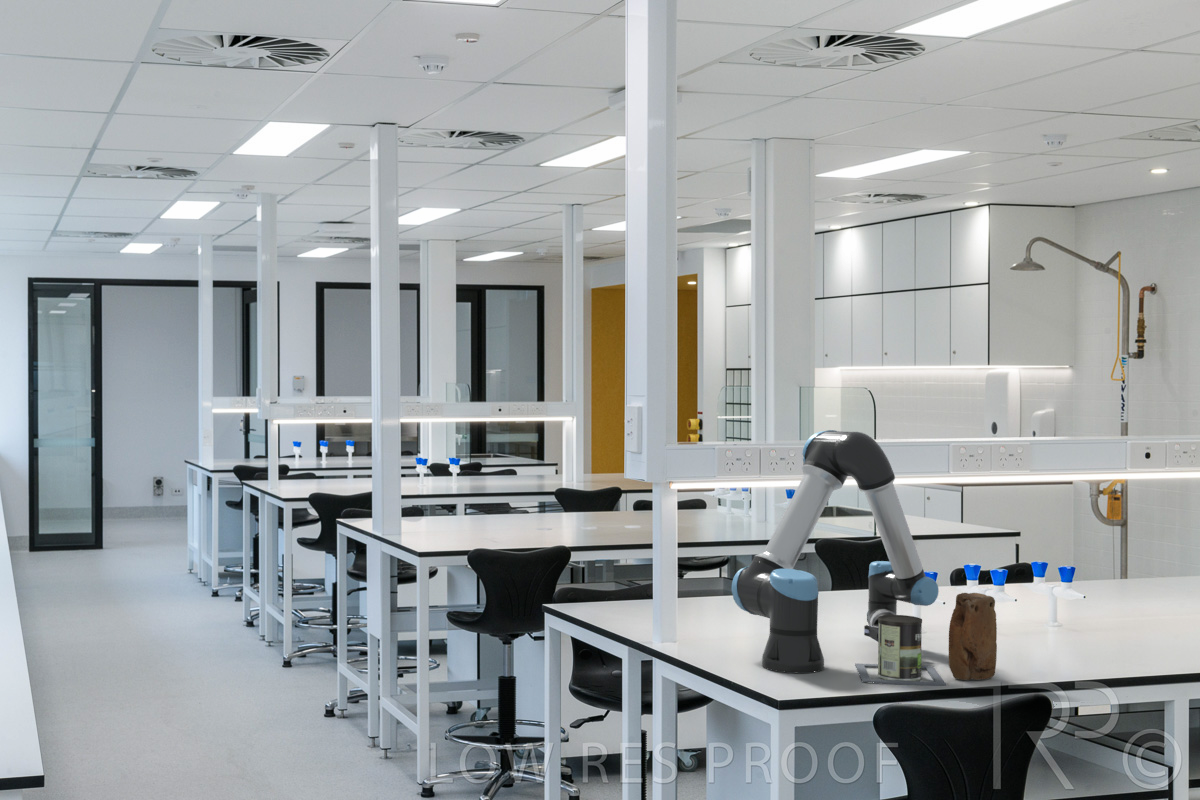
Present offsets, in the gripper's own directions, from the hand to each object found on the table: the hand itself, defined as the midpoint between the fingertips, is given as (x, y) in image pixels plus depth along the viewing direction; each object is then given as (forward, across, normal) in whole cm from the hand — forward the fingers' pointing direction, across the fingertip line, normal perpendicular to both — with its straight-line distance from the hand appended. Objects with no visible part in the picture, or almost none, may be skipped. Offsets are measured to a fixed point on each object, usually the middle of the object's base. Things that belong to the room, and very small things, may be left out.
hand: (896, 643), depth 296 cm
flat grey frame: (+5, 0, -7) cm, 8 cm away
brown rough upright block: (+5, -17, -7) cm, 19 cm away
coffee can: (+7, 0, -7) cm, 10 cm away
